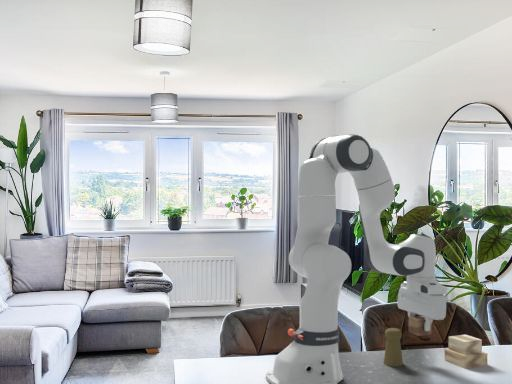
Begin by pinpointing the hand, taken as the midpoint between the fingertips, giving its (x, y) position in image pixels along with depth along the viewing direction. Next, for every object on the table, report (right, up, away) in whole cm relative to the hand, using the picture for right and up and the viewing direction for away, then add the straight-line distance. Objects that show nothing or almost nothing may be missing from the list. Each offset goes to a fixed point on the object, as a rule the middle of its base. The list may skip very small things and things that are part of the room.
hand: (419, 328), depth 176 cm
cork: (-9, -11, -2) cm, 14 cm away
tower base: (+14, -11, -1) cm, 18 cm away
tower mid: (+14, -7, -1) cm, 16 cm away
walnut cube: (0, -2, 0) cm, 2 cm away
